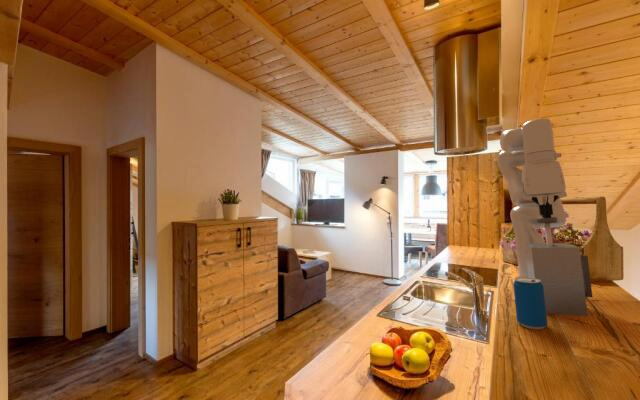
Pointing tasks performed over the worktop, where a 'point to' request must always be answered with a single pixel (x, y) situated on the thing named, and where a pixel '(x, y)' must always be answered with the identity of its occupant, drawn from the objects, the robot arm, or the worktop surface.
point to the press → (560, 276)
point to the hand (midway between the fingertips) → (546, 217)
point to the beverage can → (530, 302)
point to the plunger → (548, 228)
